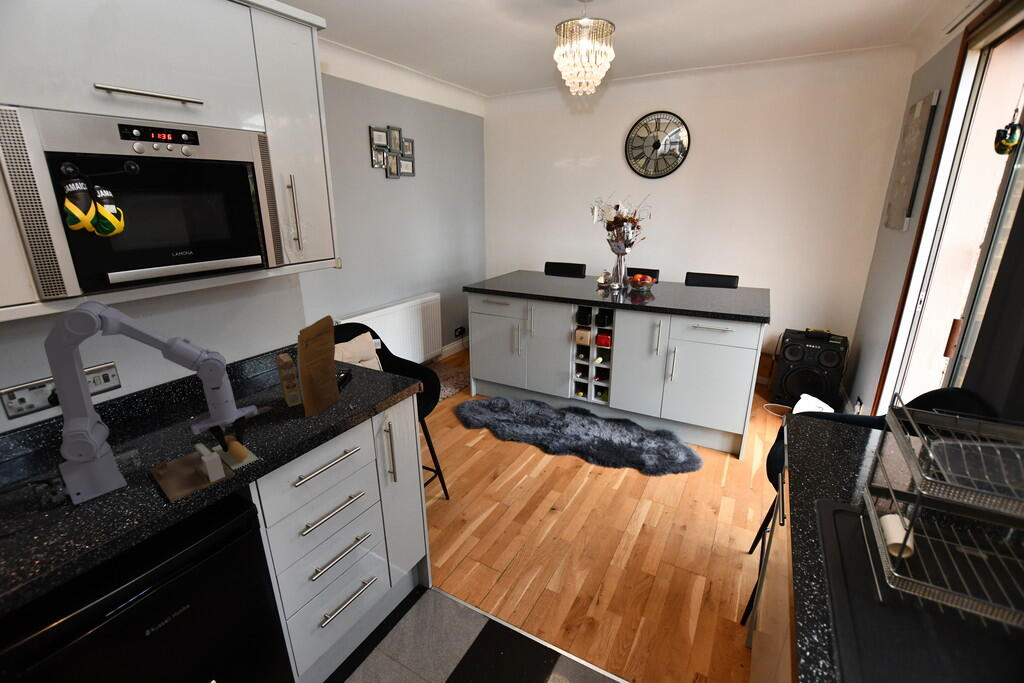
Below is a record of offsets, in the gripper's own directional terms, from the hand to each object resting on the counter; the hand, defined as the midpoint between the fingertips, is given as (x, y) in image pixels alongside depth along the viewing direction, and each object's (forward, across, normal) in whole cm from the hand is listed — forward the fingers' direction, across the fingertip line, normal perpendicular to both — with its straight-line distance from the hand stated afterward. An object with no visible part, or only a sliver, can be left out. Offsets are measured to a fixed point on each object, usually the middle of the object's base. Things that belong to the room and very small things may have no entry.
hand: (233, 447), depth 120 cm
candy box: (+2, +24, +22) cm, 33 cm away
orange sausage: (+1, 0, -2) cm, 2 cm away
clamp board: (+2, -10, -1) cm, 10 cm away
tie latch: (+1, -7, -5) cm, 9 cm away
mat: (+2, 0, 0) cm, 2 cm away
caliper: (+2, +9, +18) cm, 20 cm away
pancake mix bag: (+2, +30, +8) cm, 31 cm away
